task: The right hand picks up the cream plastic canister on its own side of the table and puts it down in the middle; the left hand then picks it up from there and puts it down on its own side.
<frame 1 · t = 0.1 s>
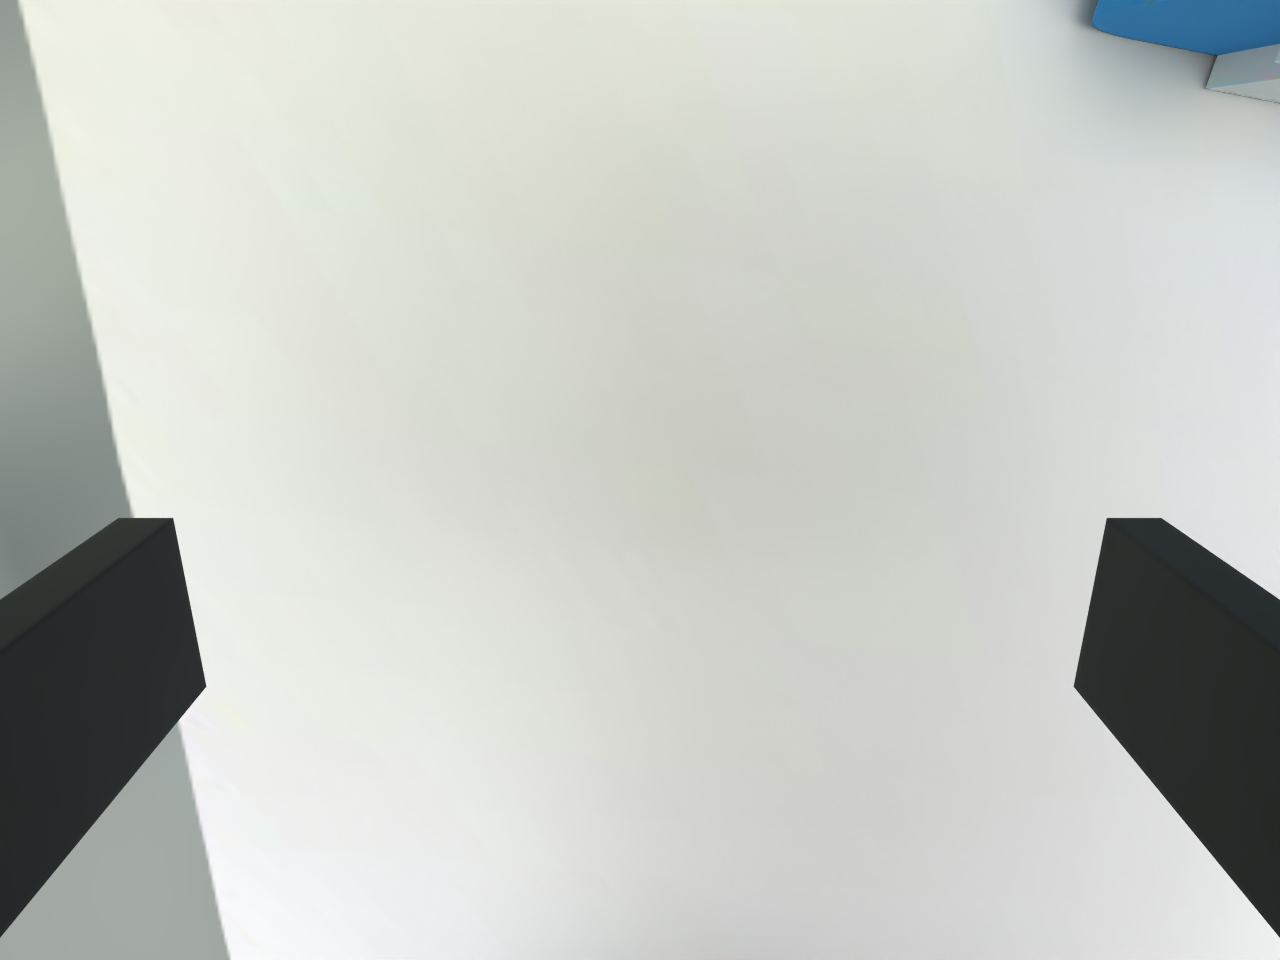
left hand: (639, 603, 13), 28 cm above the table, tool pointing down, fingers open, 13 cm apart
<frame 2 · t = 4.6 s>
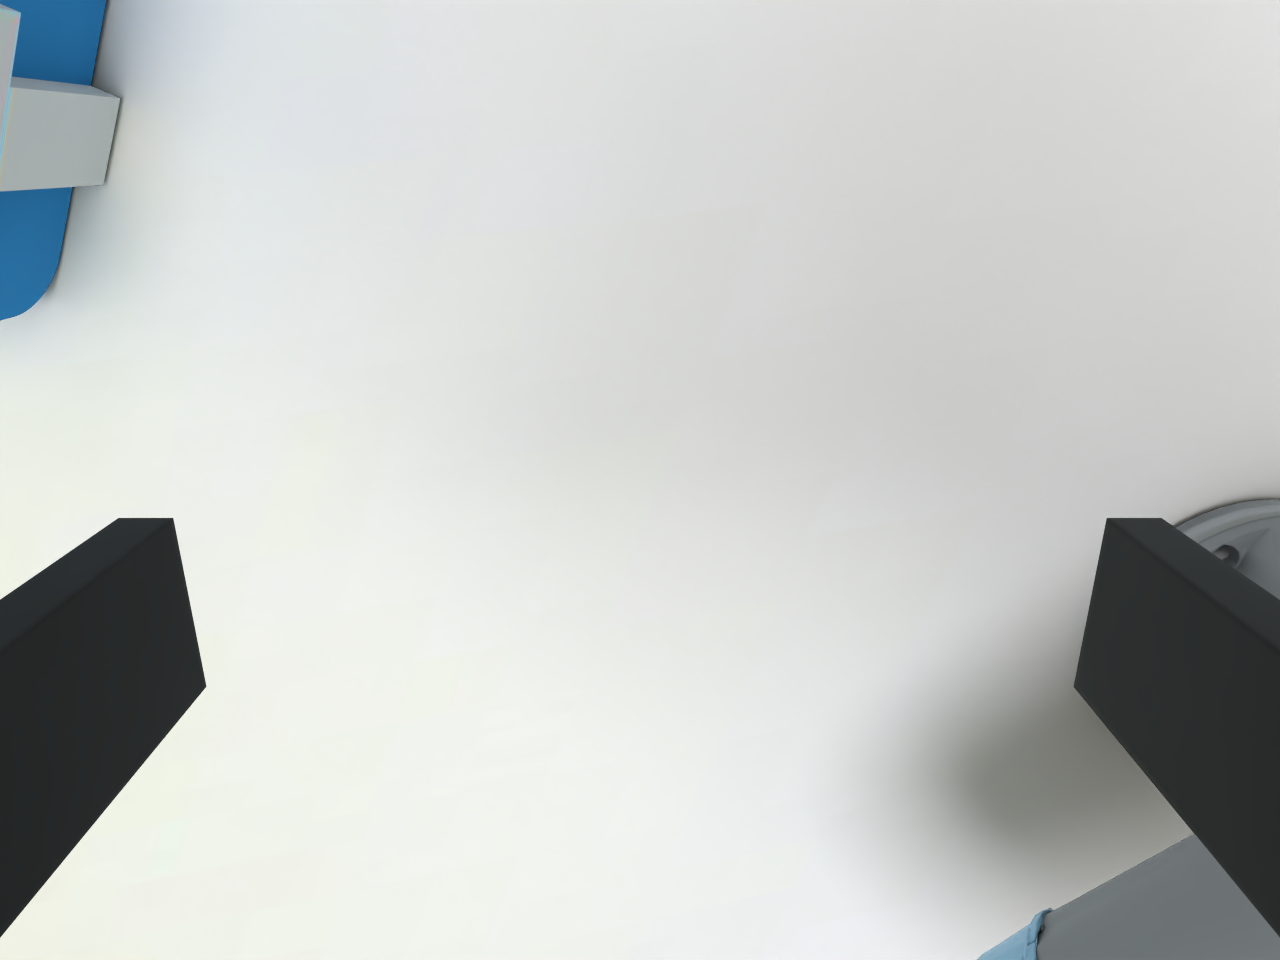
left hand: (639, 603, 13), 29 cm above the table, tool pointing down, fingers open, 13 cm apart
logo: (26, 59, 36), on the table
when the right hand's fingers open (1 cm above the table, at t = 13.2 s): canister stays where it is, on the table.
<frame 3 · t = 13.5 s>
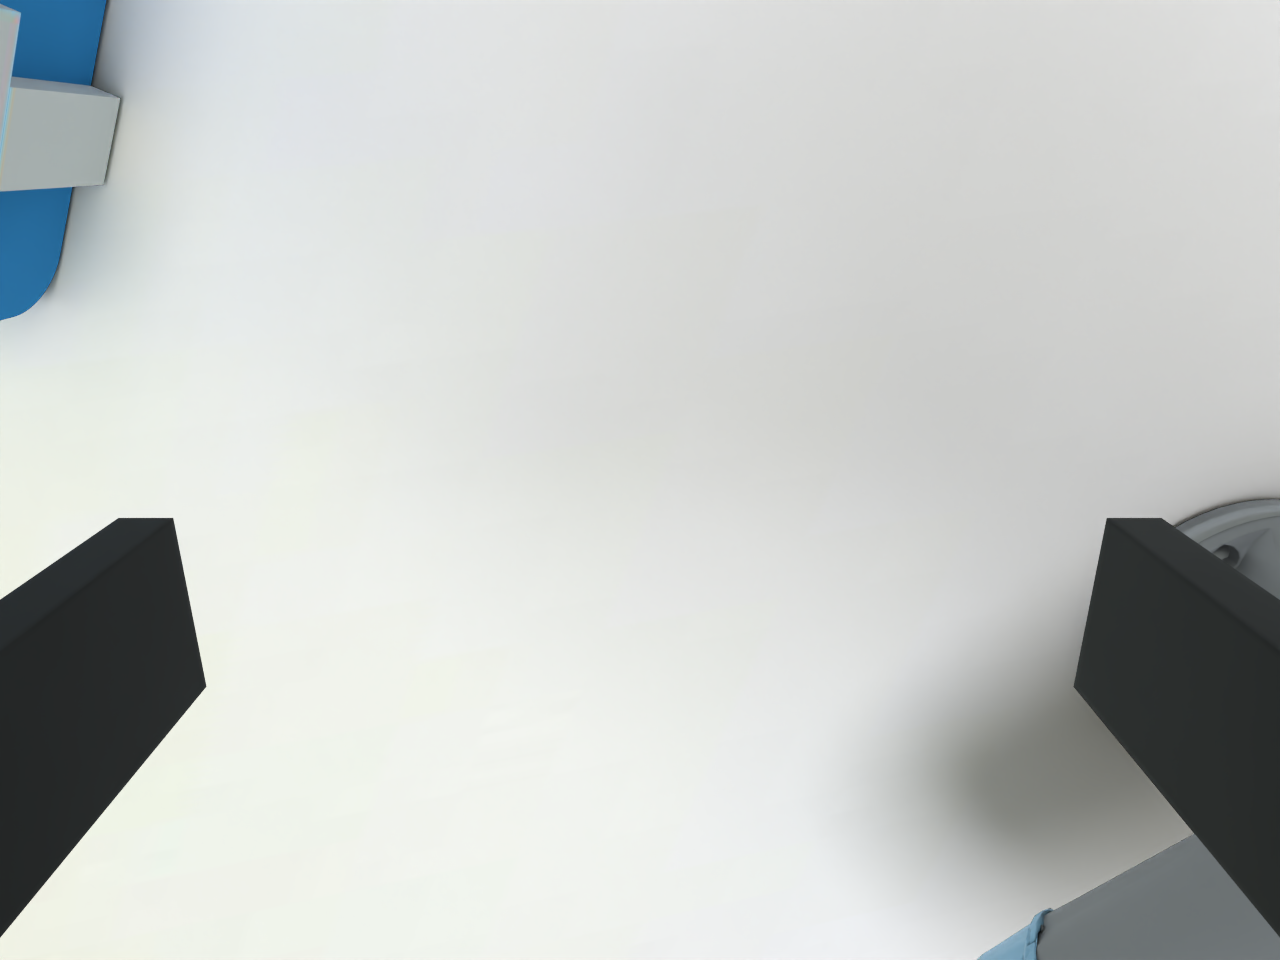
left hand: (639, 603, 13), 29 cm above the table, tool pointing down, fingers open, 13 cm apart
logo: (26, 59, 36), on the table
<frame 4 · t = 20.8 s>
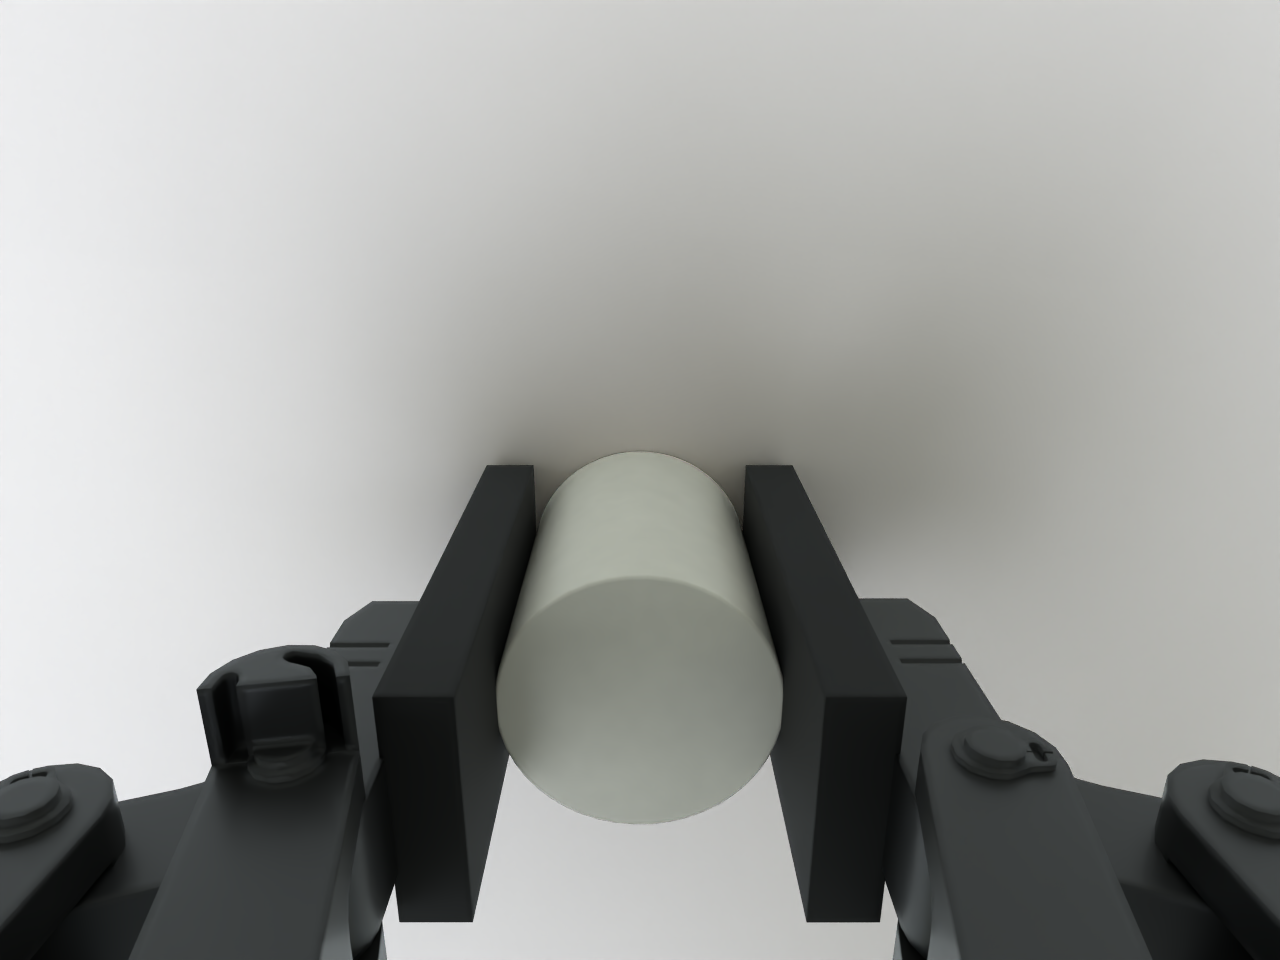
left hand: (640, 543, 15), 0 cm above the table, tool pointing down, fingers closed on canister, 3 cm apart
canister: (639, 548, 15), on the table, touching left hand
when the left hand's fingers open (1 cm above the table, at t = 31.1 s): canister stays where it is, on the table.
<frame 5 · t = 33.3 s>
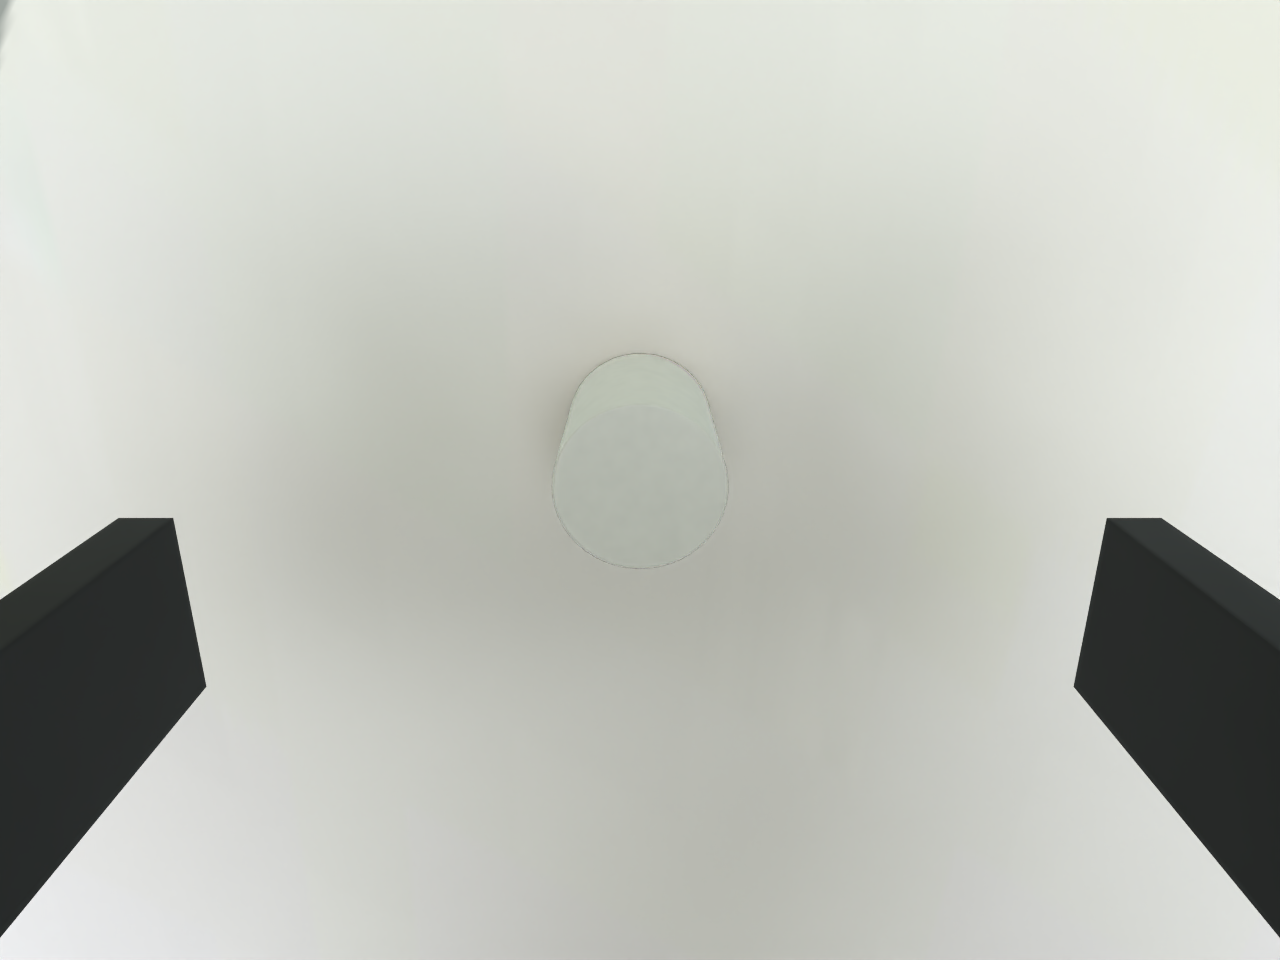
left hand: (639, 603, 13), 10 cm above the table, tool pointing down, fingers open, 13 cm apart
canister: (640, 422, 22), on the table
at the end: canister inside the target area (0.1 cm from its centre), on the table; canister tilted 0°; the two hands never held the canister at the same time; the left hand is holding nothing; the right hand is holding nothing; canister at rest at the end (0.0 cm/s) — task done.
